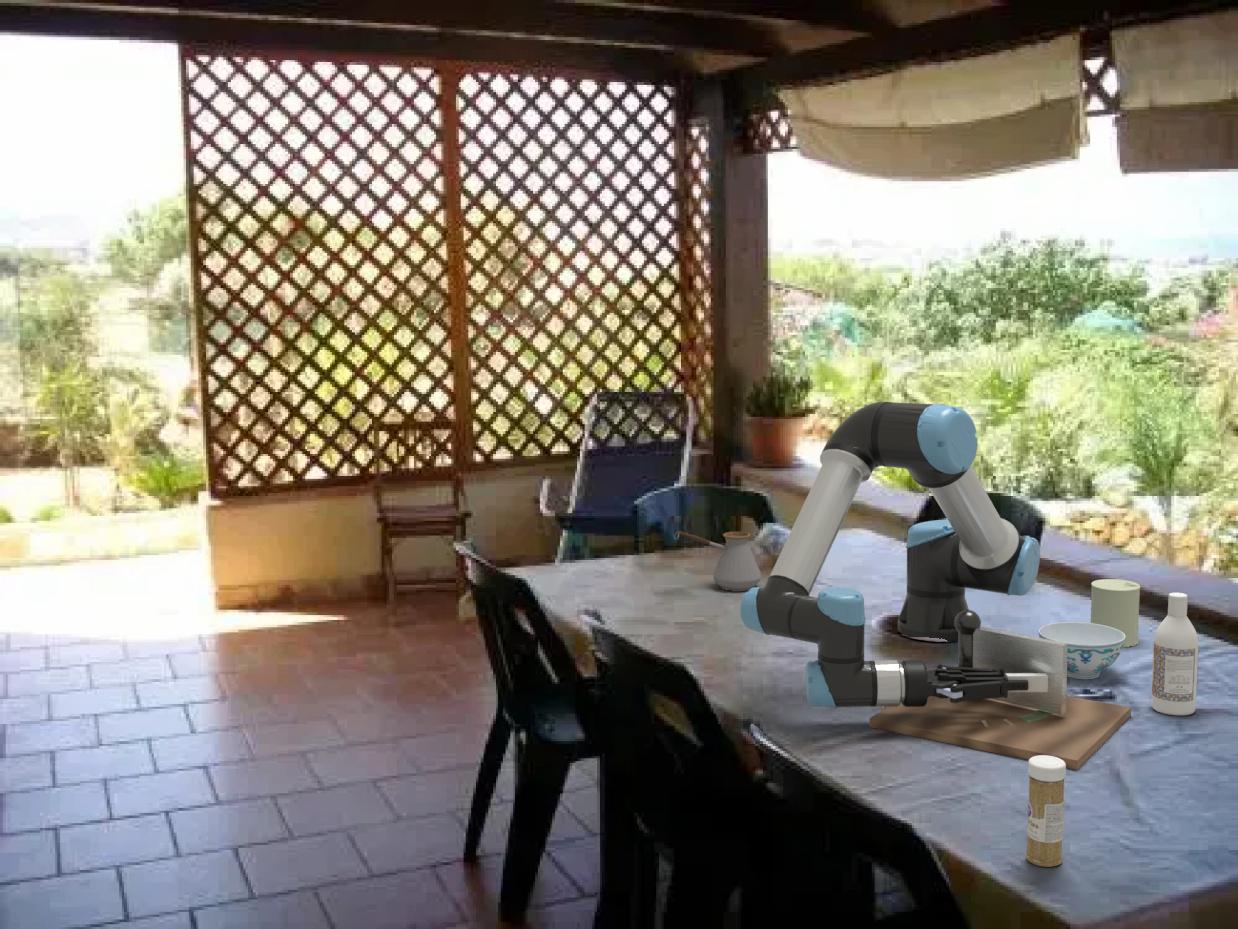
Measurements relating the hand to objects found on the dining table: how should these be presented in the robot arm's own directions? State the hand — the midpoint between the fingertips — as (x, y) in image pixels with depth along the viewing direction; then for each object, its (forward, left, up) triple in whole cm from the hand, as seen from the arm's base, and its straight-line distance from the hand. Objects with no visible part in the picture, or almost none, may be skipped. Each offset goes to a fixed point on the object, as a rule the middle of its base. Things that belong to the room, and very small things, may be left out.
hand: (1046, 682), depth 215 cm
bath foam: (+15, +19, -8) cm, 26 cm away
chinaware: (-4, +30, -8) cm, 31 cm away
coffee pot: (-94, +48, -8) cm, 106 cm away
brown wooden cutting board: (-7, -2, -7) cm, 10 cm away
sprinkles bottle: (+16, -48, -8) cm, 51 cm away
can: (-5, +54, -8) cm, 55 cm away
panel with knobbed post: (-7, +2, -5) cm, 9 cm away
